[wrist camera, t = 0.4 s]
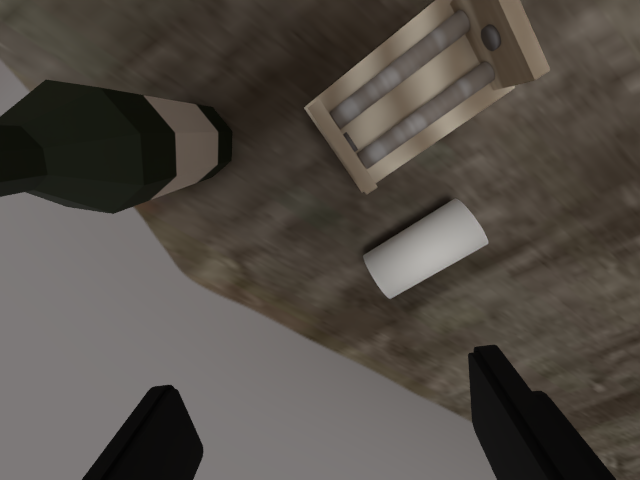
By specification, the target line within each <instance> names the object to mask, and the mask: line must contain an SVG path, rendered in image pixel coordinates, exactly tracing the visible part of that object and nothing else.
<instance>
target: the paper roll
mask: <svg viewBox="0 0 640 480" xmlns="http://www.w3.org/2000/svg"><path fill="white" fill-rule="evenodd" d="M487 244H488V239H487V237H486V235H485V233H484V231H483V229H482V227H481V226H480V224H479V223H478V221H477V220H476V218H475V217H474V216H473V214H472V213H471V212H470V211H469V209H468V208H467V207H466V206H465V205H464V204H463V203H462V202H461V201H460V200H458V199H456V198H455V199H453V200H452V201H450V202H448V203H447V204H445V205H443V206H442V207H440V208H439V209H437V210H435V211H434V212H432V213H431V214H429V215H427V216H426V217H424V218H423V219H421V220H419V221H418V222H416V223H414V224H413V225H411V226H410V227H408V228H406V229H405V230H403V231H402V232H400V233H398V234H397V235H395V236H393V237H392V238H390V239H389V240H387V241H385V242H384V243H382V244H381V245H379V246H377V247H376V248H374V249H373V250H371V251H369V252H368V253H366V254H364V255H363V258H364V261H365V264H366V266H367V268H368V270H369V272H370V274H371V275H372V277H373V279H374V280H375V282H376V283H377V285H378V286H379V288H380V289H381V290H382V292H383V293H384V294H385V295H386V296H387V297H388V298H389V299H391V298H393V297H394V296H396V295H398V294H400V293H402V292H403V291H405V290H407V289H409V288H410V287H412V286H414V285H416V284H418V283H419V282H421V281H423V280H425V279H426V278H428V277H430V276H432V275H434V274H435V273H437V272H439V271H441V270H442V269H444V268H446V267H448V266H450V265H451V264H453V263H455V262H457V261H458V260H460V259H462V258H464V257H466V256H467V255H469V254H471V253H473V252H474V251H476V250H478V249H480V248H482V247H483V246H485V245H487Z"/></svg>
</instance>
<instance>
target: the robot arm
mask: <svg viewBox="0 0 640 480" xmlns="http://www.w3.org/2000/svg"><path fill="white" fill-rule="evenodd" d="M468 360H469V377H470V394H471V411H472V423H473V427H474V430H475V433H476V435H477V437H478V439H479V441H480V444H481V446H482V448H483V450H484V452H485V454H486V457H487V459H488V461H489V463H490V465H491V467H492V470H493V472H494V474H495V476H496V478H497V480H616V479H615V477H614V476H613V475H612V474H611V473H610V471H609V470H608V469H607V468H606V466H605V465H604V464H603V463H602V461H601V460H600V459H599V458H598V456H597V455H596V454H595V453H594V452H593V450H592V449H591V448H590V447H589V445H588V444H587V443H586V442H585V440H584V439H583V438H582V437H581V436H580V434H579V433H578V432H577V431H576V429H575V428H574V427H573V426H572V424H571V423H570V422H569V421H568V419H567V418H566V417H565V416H564V415H563V413H562V412H561V411H560V410H559V408H558V407H557V406H556V405H555V403H554V402H553V401H552V400H551V399H550V398H549V397H548V395H547V394H545V393H544V392H542V391H531V390H530V388H529V387H528V386H527V384H526V383H525V382H524V380H523V379H522V378H521V376H520V375H519V374H518V372H517V371H516V370H515V368H514V367H513V366H512V365H511V363H510V362H509V361H508V359H507V358H506V357H505V355H504V354H503V353H502V351H501V350H500V349H499V348H498V346H497V345H487V346H479V347H474V353H469V354H468ZM202 457H203V445H202V443H201V441H200V438H199V436H198V434H197V432H196V429H195V428H194V425H193V423H192V420H191V418H190V416H189V414H188V411H187V409H186V407H185V405H184V403H183V400H182V398H181V396H180V394H179V391H178V390H177V389H175V388H174V387H173V386H172V385H163V386H155V387H152V388H151V389H150V390H149V391H148V392H147V393H146V395H145V396H144V397H143V399H142V400H141V401H140V403H139V404H138V406H137V407H136V408H135V409H134V411H133V412H132V414H131V415H130V416H129V417H128V419H127V420H126V421H125V423H124V424H123V425H122V427H121V428H120V430H119V431H118V432H117V433H116V435H115V436H114V438H113V439H112V440H111V441H110V443H109V444H108V445H107V447H106V448H105V449H104V451H103V452H102V453H101V455H100V456H99V457H98V459H97V460H96V461H95V463H94V464H93V465H92V467H91V468H90V469H89V471H88V472H87V473H86V475H85V476H84V477H83V479H82V480H193V479H194V476H195V474H196V471H197V469H198V467H199V464H200V462H201V460H202Z"/></svg>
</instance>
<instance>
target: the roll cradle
mask: <svg viewBox="0 0 640 480" xmlns="http://www.w3.org/2000/svg"><path fill="white" fill-rule="evenodd" d="M548 71H550V68H549V65H548V63H547V61H546V59H545V56H544V54H543V52H542V49H541V47H540V45H539V43H538V40H537V38H536V36H535V33H534V31H533V29H532V27H531V24H530V22H529V20H528V18H527V15H526V13H525V11H524V8H523V6H522V4H521V2H520V0H435V1H434V2H433V3H432V4H430V5H429V6H428V7H427V8H425V9H424V10H423V11H422V12H421V13H419V14H418V15H417V16H416V17H414V18H413V19H412V20H411V21H409V22H408V23H407V24H406V25H405V26H403V27H402V28H401V29H400V30H398V31H397V32H396V33H395V34H394V35H392V36H391V37H390V38H389V39H387V40H386V41H385V42H384V43H383V44H381V45H380V46H379V47H378V48H376V49H375V50H374V51H373V52H372V53H370V54H369V55H368V56H367V57H365V58H364V59H363V60H362V61H360V62H359V63H358V64H357V65H356V66H354V67H353V68H352V69H351V70H349V71H348V72H347V73H346V74H345V75H343V76H342V77H341V78H340V79H338V80H337V81H336V82H335V83H334V84H332V85H331V86H330V87H329V88H327V89H326V90H325V91H324V92H322V93H321V94H320V95H319V96H318V97H316V98H315V99H314V100H313V101H311V102H310V103H309V104H308V105H307V106H305V107H304V109H305V110H306V112H307V113H308V115H309V116H310V117H311V119H312V120H313V122H314V123H315V125H316V126H317V128H318V129H319V131H320V132H321V134H322V135H323V136H324V138H325V139H326V141H327V142H328V144H329V145H330V147H331V148H332V150H333V151H334V153H335V154H336V155H337V157H338V158H339V160H340V161H341V163H342V164H343V166H344V167H345V169H346V170H347V171H348V173H349V174H350V176H351V177H352V179H353V180H354V182H355V183H356V185H357V186H358V188H359V189H360V190H361V192H365V193H366V195H367V194H368V193H370V192H371V191H373V190H374V189H376V188H377V185H376V184H375V183H377V182H378V181H380V180H381V179H383V178H384V177H385V176H387V175H388V174H390V173H391V172H393V171H394V170H396V169H397V168H399V167H400V166H402V165H403V164H404V163H406V162H407V161H409V160H410V159H412V158H413V157H415V156H416V155H418V154H419V153H421V152H422V151H423V150H425V149H426V148H428V147H429V146H431V145H432V144H434V143H435V142H437V141H438V140H440V139H441V138H442V137H444V136H445V135H447V134H448V133H450V132H451V131H453V130H454V129H456V128H457V127H459V126H460V125H462V124H463V123H464V122H466V121H467V120H469V119H470V118H472V117H473V116H475V115H476V114H478V113H479V112H481V111H482V110H483V109H485V108H486V107H488V106H489V105H491V104H492V103H494V102H495V101H497V100H498V99H500V98H501V97H502V96H504V95H505V94H507V93H508V92H510V91H511V90H513V89H514V88H515V86H514V85H518V84H522V83H526V82H530V81H534V80H536V79H538V78H539V77H541V76H542V75H544V74H545V73H547V72H548Z"/></svg>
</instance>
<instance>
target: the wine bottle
mask: <svg viewBox="0 0 640 480" xmlns="http://www.w3.org/2000/svg"><path fill="white" fill-rule="evenodd" d="M231 156H232V131H231V130H230V128H229V127H228V126H227V125H226V123H225V122H224V121H223V119H222V118H221V117H220V116H219V114H218V113H217V112H216V111H215V109H214V108H213V107H208V106H202V105H197V104H191V103H185V102H179V101H174V100H168V99H162V98H157V97H151V96H145V95H139V94H134V93H128V92H122V91H116V90H111V89H105V88H99V87H92V86H86V85H79V84H72V83H65V82H58V81H52V80H45V81H44V82H42V83H41V84H40V85H39V86H37V87H36V88H35V89H34V90H33V91H31V92H30V93H29V94H28V95H26V96H25V97H24V98H23V99H21V100H20V101H19V102H18V103H17V104H15V105H14V106H13V107H12V108H10V109H9V110H8V111H7V112H5V113H4V114H3V115H2V116H1V117H0V197H1V196H6V195H12V194H16V193H22V192H27V193H29V194H32V195H35V196H38V197H41V198H44V199H46V200H49V201H52V202H55V203H58V204H61V205H63V206H66V207H72V208H79V209H85V210H92V211H98V212H105V213H112V214H114V213H116V212H119V211H122V210H125V209H127V208H130V207H133V206H136V205H138V204H141V203H144V202H146V201H149V200H152V199H154V198H157V197H160V196H162V195H165V194H168V193H170V192H173V191H176V190H179V189H181V188H184V187H187V186H189V185H192V184H195V183H197V182H200V181H203V180H205V179H208V178H211V177H213V176H214V175H215V174H216V173H217V172H219V171H220V170H221V169H222V168H223V167H224V166H226V165H227V164H228V163H229V162H230V161H231Z"/></svg>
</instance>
